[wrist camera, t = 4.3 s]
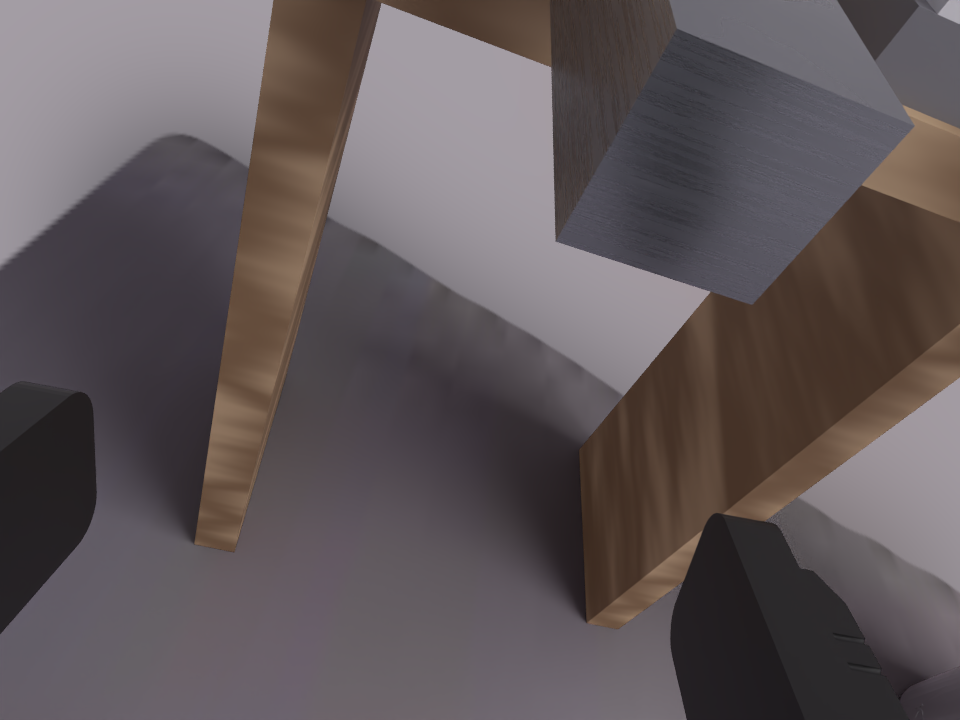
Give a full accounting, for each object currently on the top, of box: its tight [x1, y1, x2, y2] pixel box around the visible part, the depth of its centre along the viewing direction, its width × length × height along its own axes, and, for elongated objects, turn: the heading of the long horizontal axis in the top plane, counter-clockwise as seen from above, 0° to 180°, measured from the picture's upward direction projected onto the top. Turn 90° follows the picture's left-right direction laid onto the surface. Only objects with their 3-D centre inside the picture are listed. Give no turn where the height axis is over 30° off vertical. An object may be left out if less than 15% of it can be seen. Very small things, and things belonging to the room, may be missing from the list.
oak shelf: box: [195, 0, 960, 629], centre depth 33 cm, size 24×13×32 cm, turn 87°
